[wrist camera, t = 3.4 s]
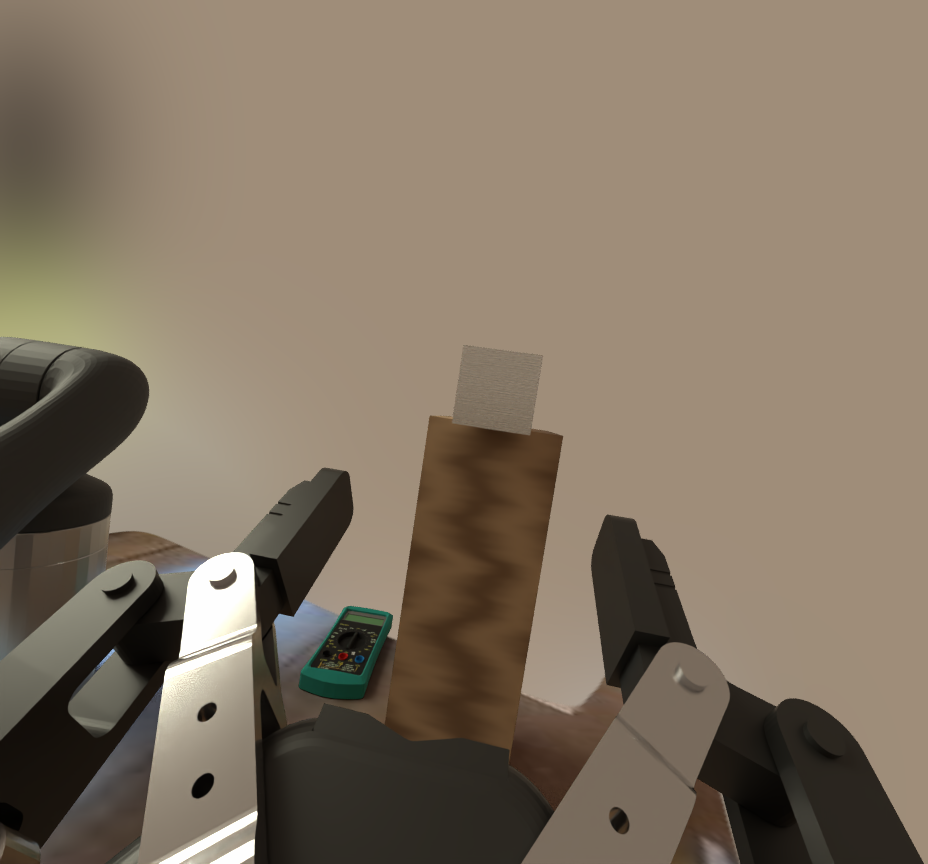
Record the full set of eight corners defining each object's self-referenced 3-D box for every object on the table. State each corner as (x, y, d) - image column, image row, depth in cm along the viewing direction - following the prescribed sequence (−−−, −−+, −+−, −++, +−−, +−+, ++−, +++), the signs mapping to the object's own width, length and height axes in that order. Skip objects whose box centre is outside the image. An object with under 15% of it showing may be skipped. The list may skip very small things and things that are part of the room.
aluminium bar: (451, 423, 19) (463, 345, 19) (480, 420, 41) (485, 384, 41) (530, 435, 19) (543, 355, 19) (516, 425, 41) (522, 389, 40)
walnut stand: (372, 810, 30) (429, 415, 28) (405, 713, 40) (449, 416, 38) (495, 843, 29) (563, 436, 27) (498, 735, 39) (547, 431, 37)
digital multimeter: (293, 696, 41) (297, 670, 41) (343, 620, 56) (345, 601, 55) (360, 708, 40) (364, 682, 40) (391, 629, 55) (394, 609, 55)
